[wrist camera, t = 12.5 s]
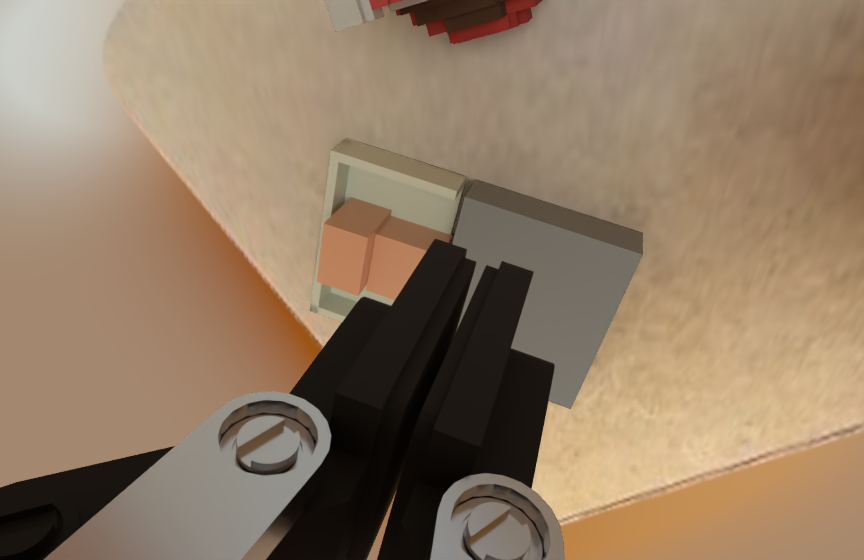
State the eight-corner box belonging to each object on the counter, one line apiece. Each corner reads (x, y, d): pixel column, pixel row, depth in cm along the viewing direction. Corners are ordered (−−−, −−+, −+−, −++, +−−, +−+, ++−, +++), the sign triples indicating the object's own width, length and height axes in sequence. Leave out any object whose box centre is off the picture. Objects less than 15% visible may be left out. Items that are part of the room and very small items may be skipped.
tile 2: (452, 235, 42) (441, 255, 40) (439, 289, 45) (427, 311, 42) (391, 215, 43) (375, 233, 41) (380, 269, 45) (365, 290, 43)
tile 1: (367, 238, 39) (323, 223, 39) (358, 296, 42) (316, 281, 42) (391, 209, 43) (351, 196, 43) (381, 264, 45) (343, 251, 46)
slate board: (642, 233, 39) (642, 254, 37) (574, 382, 46) (570, 409, 43) (475, 179, 40) (464, 196, 38) (433, 332, 47) (422, 355, 45)
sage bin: (466, 176, 41) (457, 191, 38) (426, 329, 47) (416, 349, 45) (347, 138, 42) (331, 150, 39) (324, 293, 49) (309, 310, 46)
